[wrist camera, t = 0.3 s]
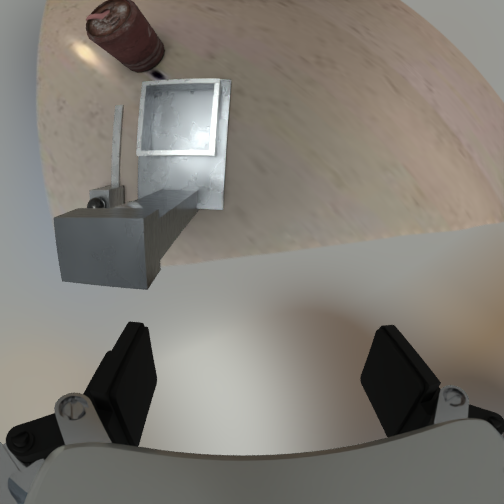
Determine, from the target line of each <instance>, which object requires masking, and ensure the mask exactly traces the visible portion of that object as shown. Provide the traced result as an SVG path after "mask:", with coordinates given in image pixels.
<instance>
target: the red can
mask: <svg viewBox="0 0 504 504" xmlns="http://www.w3.org/2000/svg"><path fill="white" fill-rule="evenodd" d="M86 21H87V23H86V30H87V35H88V37H89V39H90V40H92V41H93V42H95V43H96V44H97V45H99V46H100V47H101V48H103V49H104V50H105V51H107V52H108V53H109V54H111V55H112V56H113V57H115V58H116V59H117V60H119V61H120V62H121V63H122V64H124V65H125V66H126V67H128V68H129V69H130V70H132V71H135V72H143V71H146V70H149V69H151V68H153V67H154V66H156V65H157V63H158V62H159V61H160V60H161V58H162V56H163V53H164V45H163V43H162V42H161V40H160V39H159V37H158V36H157V34H156V33H155V31H154V30H153V29H152V27H151V26H150V24H149V23H148V21H147V20H146V18H145V17H144V16H143V14H142V13H141V11H140V10H139V8H138V7H137V6H136V4H135V3H134V2H133V1H131V0H108V1H105V2H103V3H102V4H101V5H99V6H98V7H97V8H96V9H95V10H94V11H93V12H92V13H91V15H89V16H88V17H87V18H86Z"/></svg>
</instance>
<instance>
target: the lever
mask: <svg viewBox="0 0 504 504" xmlns="http://www.w3.org/2000/svg"><path fill="white" fill-rule="evenodd" d="M122 204H124V186H105V187H101V188H97V189H93V190H90V201H89V202H88V205H87V208H115V207H117V206H119V205H122Z"/></svg>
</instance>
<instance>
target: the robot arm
mask: <svg viewBox="0 0 504 504" xmlns="http://www.w3.org/2000/svg"><path fill="white" fill-rule="evenodd" d="M440 383H441V382H440V381H439V380H438V378H437V377H436V376H435V375H434V373H433V372H432V371H431V369H430V368H429V367H428V366H427V364H426V363H425V362H424V361H423V359H422V358H421V357H420V356H419V354H418V353H417V352H416V351H415V349H414V348H413V347H412V346H411V345H410V343H409V342H408V341H407V340H406V339H405V337H404V336H403V335H402V334H401V333H400V332H399V330H398V329H397V328H396V327H395V326H394V325H386V326H381V327H380V328H379V329H378V330H377V331H376V333H375V336H374V339H373V343H372V346H371V349H370V352H369V355H368V357H367V360H366V363H365V366H364V369H363V371H362V374H361V384H362V386H363V388H364V390H365V392H366V394H367V396H368V398H369V400H370V402H371V404H372V406H373V408H374V410H375V412H376V414H377V417H378V419H379V420H380V423H381V425H382V427H383V429H384V431H385V433H386V435H387V437H388V438H384V439H380V440H375V441H371V442H367V443H362V444H357V445H352V446H346V447H340V448H334V449H328V450H320V451H312V452H303V453H292V454H278V455H252V456H251V455H248V456H247V455H246V456H240V455H239V456H237V455H209V454H194V453H184V452H174V451H165V450H157V449H151V448H144V447H138V446H139V442H140V439H141V436H142V432H143V428H144V425H145V421H146V418H147V414H148V411H149V407H150V404H151V401H152V397H153V393H154V390H155V387H156V384H157V375H156V370H155V365H154V360H153V354H152V348H151V342H150V336H149V329H148V327H144V324H143V323H139V322H128V324H127V325H126V327H125V329H124V330H123V332H122V334H121V335H120V337H119V339H118V341H117V342H116V344H115V346H114V347H113V349H112V351H108V352H107V353H106V354H105V356H104V358H103V360H102V361H101V363H100V365H99V367H98V368H97V370H96V372H95V374H94V375H93V377H92V380H91V381H90V383H89V385H88V387H87V388H86V390H85V392H84V394H80V393H69V394H66V395H64V396H62V397H61V398H60V399H58V401H57V402H56V404H55V408H54V409H55V413H54V414H51V415H48V416H45V417H42V418H39V419H36V420H33V421H30V422H27V423H24V424H20V425H17V426H15V427H13V428H12V429H11V430H10V431H9V432H8V434H7V437H6V443H5V444H4V445H3V444H2V443H1V442H0V504H504V419H503V418H502V417H501V416H500V415H499V414H497V413H495V412H491V411H488V410H485V409H481V408H479V407H476V406H472V405H469V398H468V396H467V394H466V392H465V391H463V390H462V389H461V388H459V387H457V386H452V385H450V386H445V387H443V388H442V389H440V388H439V385H440Z"/></svg>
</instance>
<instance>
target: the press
mask: <svg viewBox="0 0 504 504" xmlns="http://www.w3.org/2000/svg"><path fill="white" fill-rule="evenodd" d="M230 93H231V80H228V79H208V78H204V79H170V80H156V81H144V82H142V90H141V99H140V109H139V120H138V134H137V152H136V156H139V160H138V199H137V200H135V201H130V202H127V203H124V204H122V205H119V206H117V207H115V208H78V209H75V210H72V211H70V212H67V213H65V214H62V215H59V216H57V217H54V227H55V237H56V245H57V253H58V259H59V266H60V271H61V277H62V281H65V282H73V283H83V284H91V285H101V286H112V287H121V288H133V289H145V290H147V289H148V288H149V287H150V285H151V283H152V282H153V280H154V279H155V277H156V276H157V274H158V273H159V271H160V260H161V258H162V257H163V256H164V254H165V253H166V252H167V250H168V249H169V248H170V246H171V245H172V244H173V242H174V241H175V240H176V238H177V237H178V236H179V234H180V233H181V232H182V231H183V229H184V228H185V227H186V225H187V224H188V223H189V222H190V220H191V219H192V218H193V217H194V215H195V214H196V213H197V212H198V209H217V210H223V202H224V182H225V164H226V148H227V133H228V119H229V105H230ZM123 107H124V105H117V106H115V115H114V127H113V143H112V175H111V186H120V149H121V131H122V118H123Z"/></svg>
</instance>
